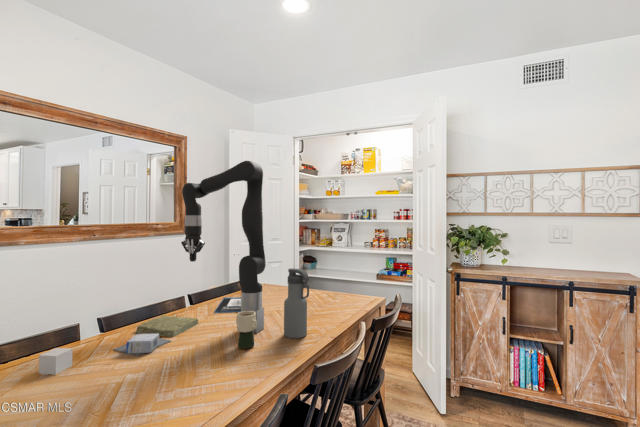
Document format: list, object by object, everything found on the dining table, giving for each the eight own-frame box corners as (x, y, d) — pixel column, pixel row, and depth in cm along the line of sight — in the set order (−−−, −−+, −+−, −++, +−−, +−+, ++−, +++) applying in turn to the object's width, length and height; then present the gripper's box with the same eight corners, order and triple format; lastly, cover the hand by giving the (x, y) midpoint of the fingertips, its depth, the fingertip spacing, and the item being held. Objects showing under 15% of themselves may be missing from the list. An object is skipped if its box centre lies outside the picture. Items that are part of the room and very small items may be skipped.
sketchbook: (213, 314, 170) (213, 310, 170) (224, 300, 200) (224, 296, 200) (255, 313, 173) (255, 309, 173) (259, 299, 203) (259, 295, 203)
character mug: (262, 347, 126) (263, 313, 126) (249, 353, 120) (249, 318, 120) (243, 341, 132) (243, 308, 132) (229, 346, 126) (229, 313, 127)
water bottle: (311, 333, 142) (312, 268, 142) (300, 340, 133) (301, 271, 133) (291, 329, 146) (291, 267, 146) (279, 336, 137) (280, 270, 137)
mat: (171, 341, 131) (171, 340, 131) (137, 355, 118) (137, 354, 118) (147, 336, 136) (147, 335, 136) (113, 350, 122) (113, 349, 122)
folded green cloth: (161, 321, 158) (161, 314, 158) (199, 324, 154) (199, 316, 154) (131, 335, 140) (132, 326, 140) (173, 338, 136) (173, 330, 136)
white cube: (55, 365, 110) (56, 347, 110) (72, 366, 109) (72, 348, 109) (38, 374, 104) (39, 355, 104) (55, 375, 103) (56, 356, 103)
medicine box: (159, 344, 127) (136, 345, 126) (159, 333, 127) (136, 333, 126) (150, 352, 119) (125, 353, 118) (150, 340, 119) (126, 341, 119)
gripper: (209, 225, 157) (209, 261, 157) (188, 224, 162) (188, 259, 162) (198, 225, 150) (198, 263, 150) (176, 225, 155) (176, 261, 155)
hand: (192, 261), depth 156 cm, fingers closed
